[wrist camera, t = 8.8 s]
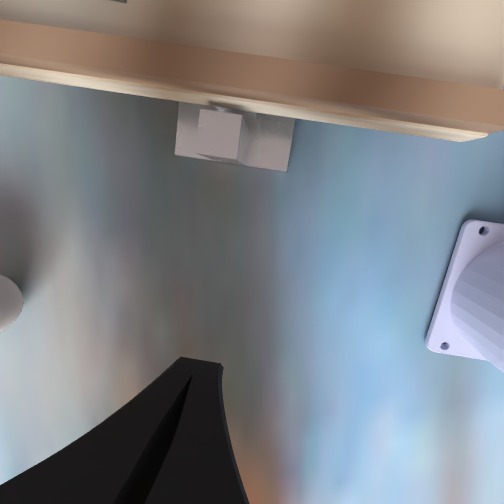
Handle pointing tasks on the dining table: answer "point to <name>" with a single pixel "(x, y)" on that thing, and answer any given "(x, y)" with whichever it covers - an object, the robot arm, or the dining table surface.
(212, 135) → the pivot stand
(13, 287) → the donut
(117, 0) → the rider
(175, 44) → the beam
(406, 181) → the dining table surface
